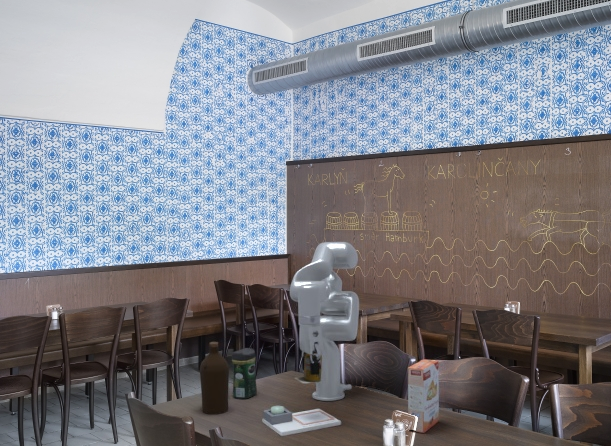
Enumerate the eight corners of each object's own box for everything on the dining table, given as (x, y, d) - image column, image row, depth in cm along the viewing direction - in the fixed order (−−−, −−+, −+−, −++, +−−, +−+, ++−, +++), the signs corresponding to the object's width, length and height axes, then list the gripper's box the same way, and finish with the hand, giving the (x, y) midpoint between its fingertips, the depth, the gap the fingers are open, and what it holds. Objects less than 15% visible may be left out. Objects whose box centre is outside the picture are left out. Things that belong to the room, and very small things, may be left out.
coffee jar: (243, 391, 254) (242, 346, 254) (259, 393, 250) (258, 347, 250) (229, 397, 246) (228, 350, 246) (246, 400, 242) (244, 352, 242)
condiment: (325, 381, 215) (327, 346, 215) (304, 384, 211) (305, 348, 211) (315, 376, 221) (316, 342, 221) (294, 378, 217) (295, 344, 217)
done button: (280, 413, 217) (280, 405, 217) (286, 417, 213) (286, 408, 213) (269, 415, 215) (269, 406, 215) (274, 419, 211) (274, 410, 211)
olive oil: (227, 414, 225) (226, 345, 224) (198, 415, 225) (196, 345, 225) (231, 405, 235) (230, 339, 235) (203, 406, 235) (201, 340, 235)
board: (319, 411, 226) (318, 400, 226) (340, 424, 211) (340, 412, 211) (262, 422, 216) (262, 410, 216) (281, 436, 201) (281, 423, 201)
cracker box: (425, 434, 200) (424, 369, 200) (407, 431, 204) (406, 367, 203) (440, 421, 212) (439, 360, 212) (423, 418, 216) (422, 358, 215)
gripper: (330, 323, 209) (331, 376, 210) (309, 315, 225) (310, 364, 226) (309, 325, 206) (311, 379, 207) (289, 317, 222) (291, 367, 222)
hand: (310, 371), depth 216 cm, fingers closed on condiment, 6 cm apart
